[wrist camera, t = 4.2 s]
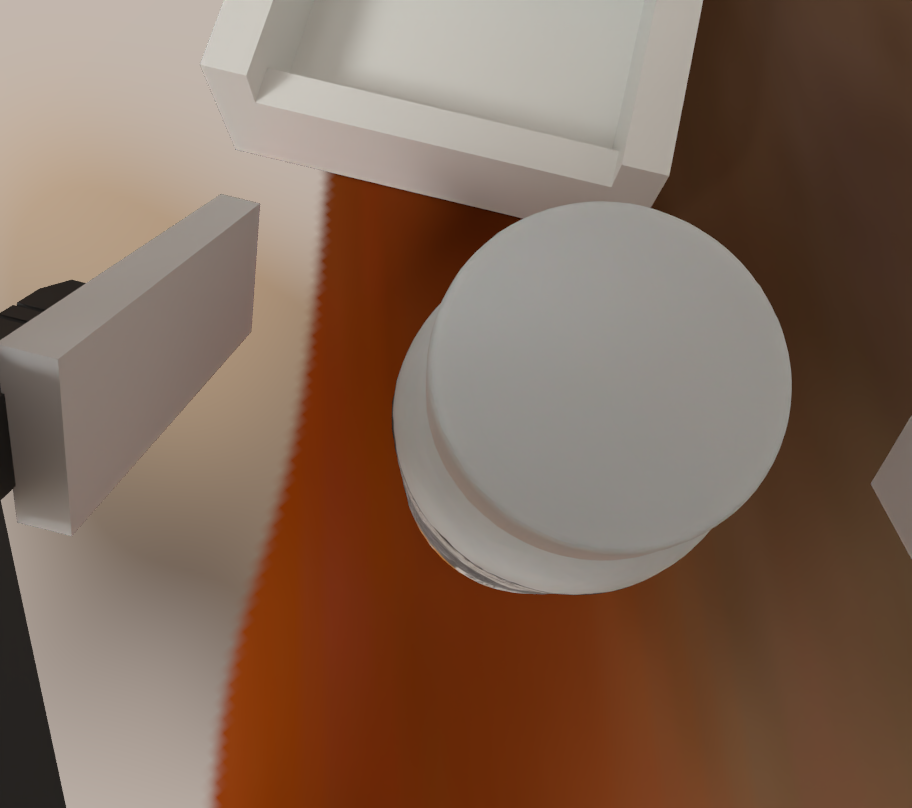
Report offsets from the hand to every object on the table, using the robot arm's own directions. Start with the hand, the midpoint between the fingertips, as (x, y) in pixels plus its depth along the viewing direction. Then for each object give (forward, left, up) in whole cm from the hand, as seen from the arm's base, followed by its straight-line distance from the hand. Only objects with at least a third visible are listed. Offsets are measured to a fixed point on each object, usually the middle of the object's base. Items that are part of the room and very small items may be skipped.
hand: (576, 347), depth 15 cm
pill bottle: (0, -2, -5) cm, 6 cm away
